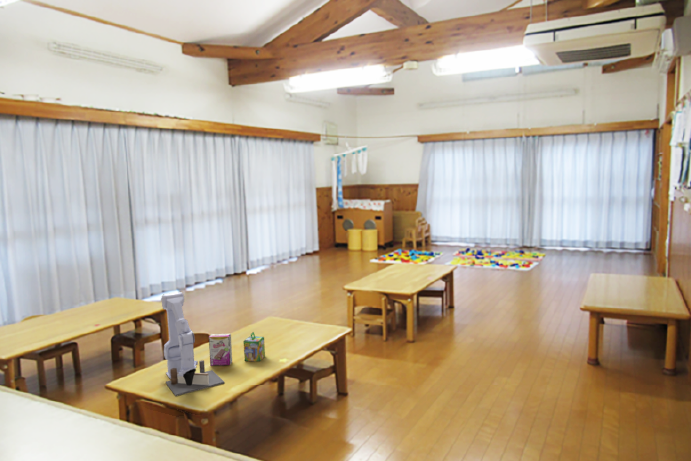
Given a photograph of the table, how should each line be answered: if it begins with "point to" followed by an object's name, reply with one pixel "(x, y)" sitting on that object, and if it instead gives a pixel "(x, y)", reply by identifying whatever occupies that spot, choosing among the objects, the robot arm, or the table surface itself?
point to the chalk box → (254, 348)
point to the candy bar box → (220, 349)
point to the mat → (184, 388)
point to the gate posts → (174, 372)
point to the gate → (196, 379)
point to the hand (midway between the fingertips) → (189, 384)
